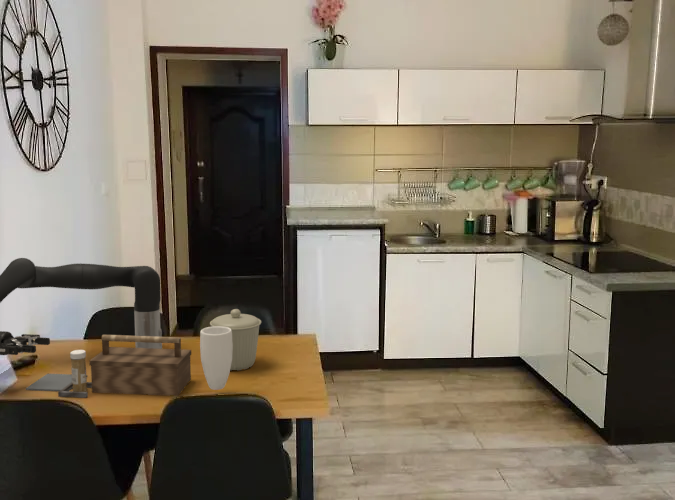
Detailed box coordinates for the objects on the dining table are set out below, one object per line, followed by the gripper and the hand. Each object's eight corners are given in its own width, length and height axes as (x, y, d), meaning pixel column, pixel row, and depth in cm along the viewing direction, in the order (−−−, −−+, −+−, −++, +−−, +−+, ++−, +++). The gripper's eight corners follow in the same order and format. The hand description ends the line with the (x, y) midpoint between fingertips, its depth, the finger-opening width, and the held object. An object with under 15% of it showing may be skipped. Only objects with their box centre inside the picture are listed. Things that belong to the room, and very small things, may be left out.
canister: (271, 366, 239) (271, 309, 236) (231, 378, 226) (231, 318, 223) (240, 355, 251) (239, 300, 248) (200, 366, 238) (199, 309, 235)
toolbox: (58, 396, 208) (55, 344, 205) (85, 375, 227) (83, 327, 224) (174, 401, 205) (172, 348, 203) (191, 380, 224) (190, 331, 221)
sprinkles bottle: (89, 392, 212) (87, 352, 209) (74, 395, 209) (71, 354, 207) (85, 388, 215) (83, 348, 213) (70, 390, 213) (68, 350, 211)
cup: (205, 404, 203) (204, 336, 200) (196, 393, 213) (195, 327, 209) (238, 398, 208) (237, 332, 205) (227, 388, 217) (226, 324, 214)
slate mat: (25, 390, 213) (25, 388, 213) (47, 375, 227) (47, 373, 227) (68, 391, 212) (67, 390, 212) (87, 376, 226) (87, 375, 226)
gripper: (-21, 337, 204) (30, 340, 203) (5, 325, 218) (53, 327, 217) (-20, 361, 205) (31, 363, 204) (6, 347, 219) (54, 350, 218)
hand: (42, 345), depth 210 cm, fingers open, 8 cm apart
